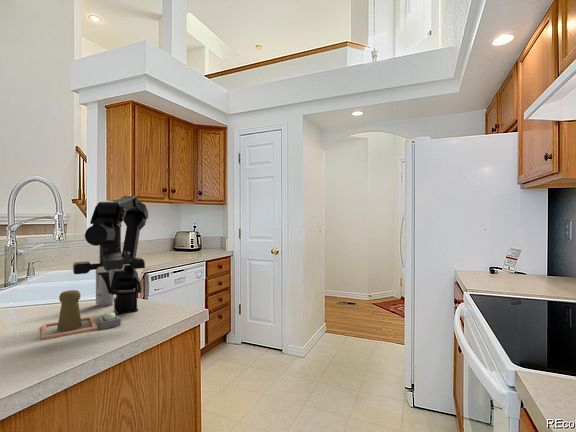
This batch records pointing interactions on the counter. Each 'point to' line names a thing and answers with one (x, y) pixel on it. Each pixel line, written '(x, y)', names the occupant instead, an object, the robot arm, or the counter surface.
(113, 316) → the button
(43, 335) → the terracotta outline
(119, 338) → the counter surface
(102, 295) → the energy drink can
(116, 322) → the button box
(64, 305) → the olive pepper mill
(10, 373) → the counter surface
